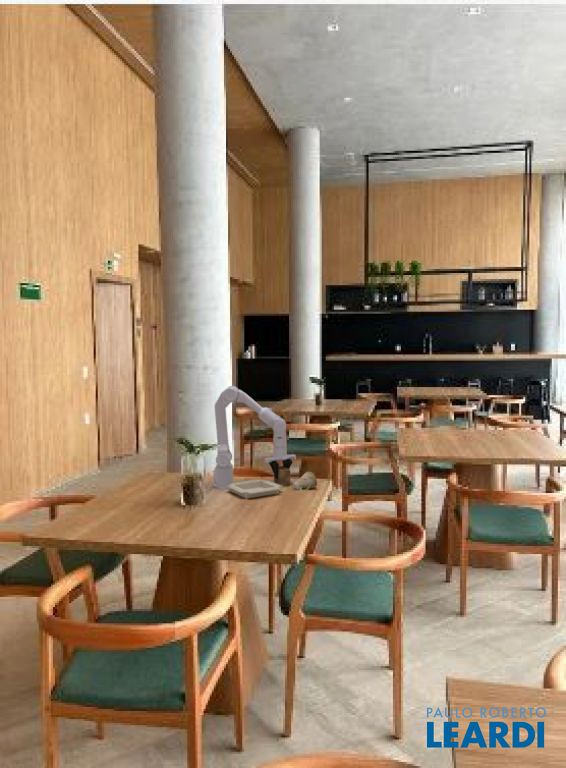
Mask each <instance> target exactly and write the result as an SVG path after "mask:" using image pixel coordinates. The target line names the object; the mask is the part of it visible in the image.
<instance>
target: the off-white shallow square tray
mask: <svg viewBox="0 0 566 768" xmlns="http://www.w3.org/2000/svg"><path fill="white" fill-rule="evenodd" d="M226 487H229V488H228V489H230V492H232V493H234V494H236V495H238V496H240V497H242V498H244V499H247V500H248V499H252V498H258V497H259V498H260V497H263V496H264V497H265V496H271V495H277V494H280V490H282V488H284V487H283V486H281V485H279V484H276V483H274V481H271V480H268V479H262V480H261V479H259V478H257V479H249V480H243V481H237V482H233V483H229V485H227V486H226Z"/></svg>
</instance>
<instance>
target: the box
mask: <svg viewBox="0 0 566 768" xmlns="http://www.w3.org/2000/svg"><path fill="white" fill-rule="evenodd" d="M273 482H274V483H276V484H279V485H281V486H283V487H282V488H284V487H285V488H287V487H291V485H290V483H291V469H287V468H285V467H284V466H283V465H279V467H278V478H274V477H273Z"/></svg>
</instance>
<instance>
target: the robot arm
mask: <svg viewBox="0 0 566 768" xmlns="http://www.w3.org/2000/svg"><path fill="white" fill-rule="evenodd" d="M235 401H236V402H237V403H243V404H245V405H246V406H247V407H248V408H251V409H252V411H254V412H255V413H256V414H258V415H257V416H258V419H260V420H261V421H262V422H263V423H265V424H266V425H267V426H269V427H271V428H272V430H273V438H272V439H273V440H272V441H273V442H272V443H273V456H269V457H264V463H265V464H269V467H270V468H271V469H272V470H271V471H272V473H273V479H274V478H278V467H279V466H280V463H278V462H282V466H284V467H285V468H287V469H289V470H291V466H292V464H293V460H297V456H296V454H293V453H292V454H288V452H287V451H288V449H287V448H288V447H287V446H288V445H287V444H288V442H287V431H286V430H287V424H286V421H285V419H284V418H282V417H281V416H280V415H277V413H274V411H273V409H272V408H271V407H269V408H268V407H262V406H261V405H260V404H259V403H257V402H256V401H255V400H254V399H253V398H252V397H251V396H249V395H248V394H247V393H246V392H244V391H243V390H242V389H239V388H238V387H237V386H234V385H230V386H227V388H224V390H223V391H221V393H220V394H219V396H218V398H217V400H216V402H215V403H214V417H215V428H216V430H215V431H216V438H217V439H216V440H217V455H216V458H215V462H216V465H215V467H214V469H213V483H212V484H211V485H212V486H214V487H216V488H217V489H230V488H229V487H226V486H227V485H229V483H234V467H233V464H232V463H231V462H232V460H233V454H232V452H231V450H230V445H229V434H228V422H227V419H228V418H227V411H226V410H227V409H226V408H227V407H228V406H229V405H230V404H232V403H234V402H235ZM218 445H220V447H218Z"/></svg>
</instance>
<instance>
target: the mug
mask: <svg viewBox="0 0 566 768" xmlns="http://www.w3.org/2000/svg"><path fill="white" fill-rule="evenodd" d="M293 484H294V485H293V488H294V489H295V490H297V491H302V492H307V491H309V490H310V489H314V488H315V487H317V486H318V480H317V478H316V476H315V474H314V473H313V472H312V471H306V472H305V473H304V474H303V475H302V476H301V477H300V478H298V480H297V479H296V480H295V481H294V482H293Z"/></svg>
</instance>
